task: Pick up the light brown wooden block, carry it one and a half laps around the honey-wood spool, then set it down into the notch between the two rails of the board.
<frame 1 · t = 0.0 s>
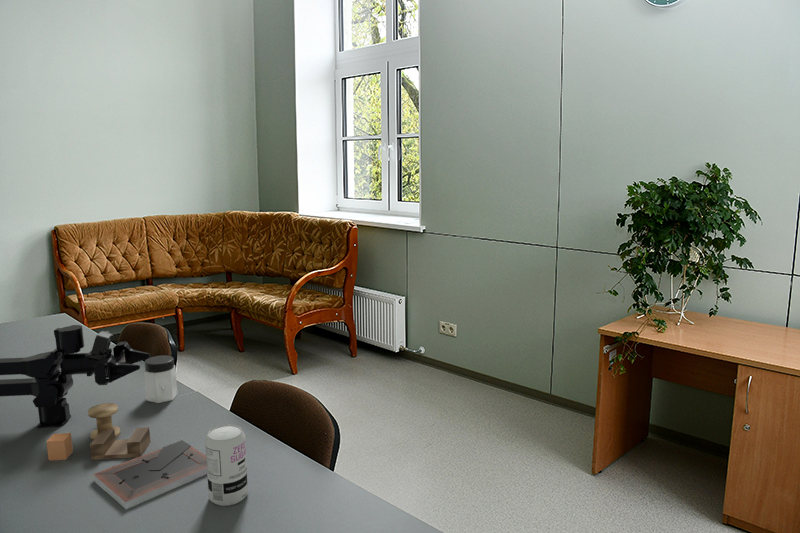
hand: (144, 361, 167), 17 cm above the table, tool horizontal, fingers open, 9 cm apart
jar: (162, 398, 184), on the table
notch board: (121, 450, 151), on the table
supplement can: (229, 497, 131), on the table
light brown wooden block: (61, 456, 149), on the table
spool: (105, 435, 159), on the table
picture frame: (157, 478, 140), on the table
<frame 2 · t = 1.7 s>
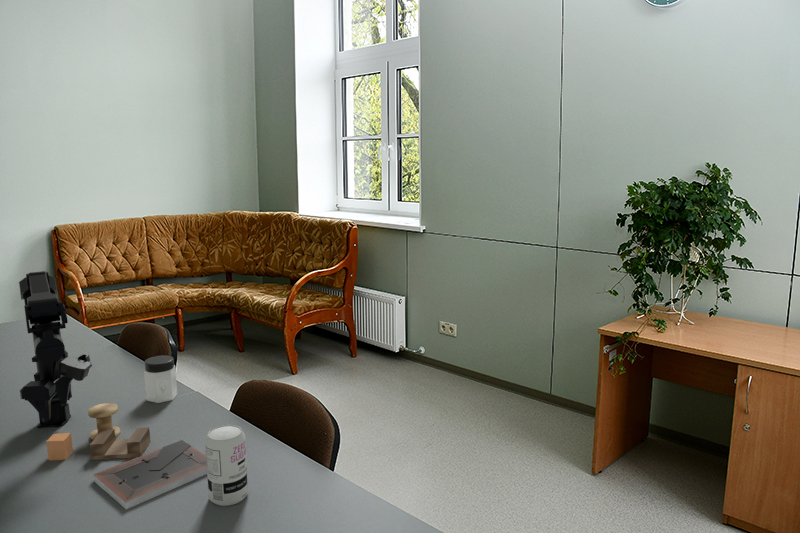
hand: (56, 411, 147), 11 cm above the table, tool pointing down, fingers open, 9 cm apart
nothing on the table moved.
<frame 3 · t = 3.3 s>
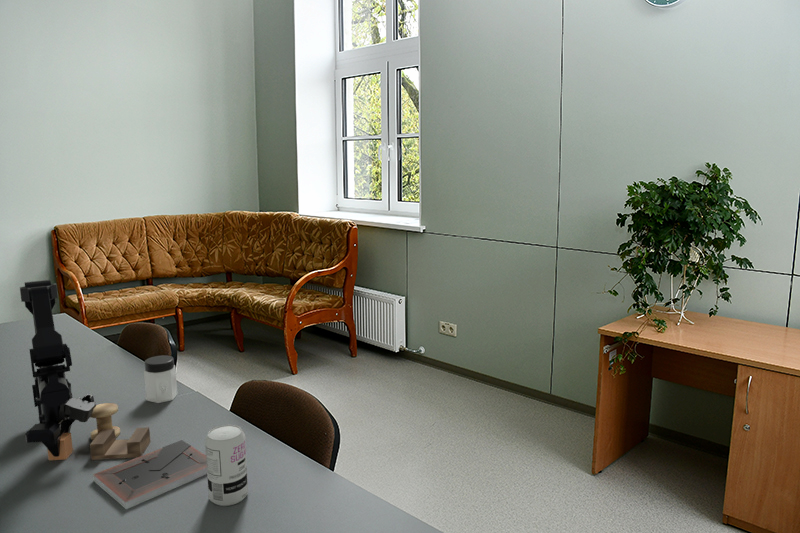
hand: (60, 451, 149), 1 cm above the table, tool pointing down, fingers closed on light brown wooden block, 4 cm apart
light brown wooden block: (61, 455, 149), on the table, touching gripper
everything else where it was.
when the fingers open (4 cm above the table, at t = 10.4 s): light brown wooden block drops 2 cm, resting on notch board.
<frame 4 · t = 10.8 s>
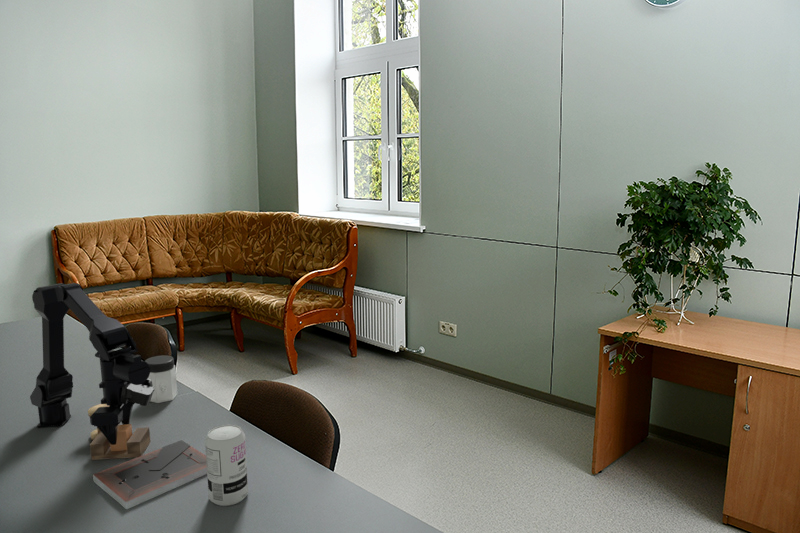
hand: (120, 435, 150), 4 cm above the table, tool pointing down, fingers open, 9 cm apart
light brown wooden block: (122, 446, 151), point 1 cm above the table, touching notch board
everything else where it was.
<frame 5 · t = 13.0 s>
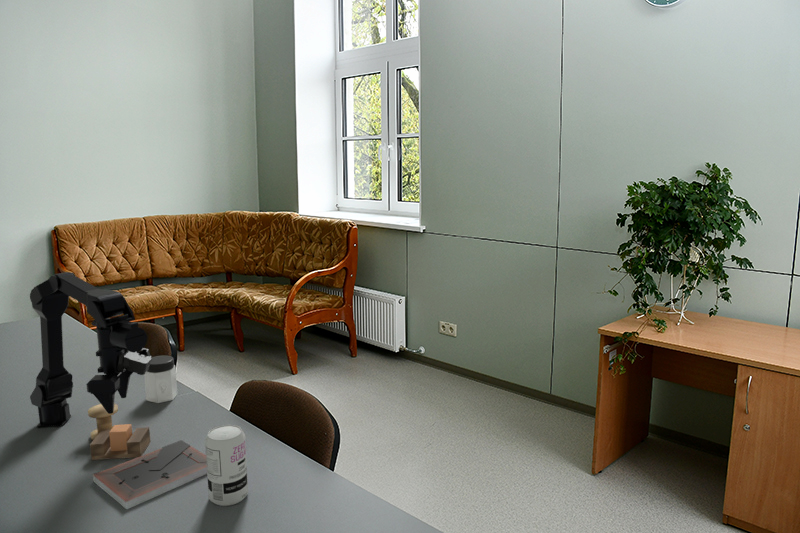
hand: (117, 405, 149), 12 cm above the table, tool pointing down, fingers open, 9 cm apart
nothing on the table moved.
at the end: light brown wooden block 0.2 cm off-centre on the notch board, point 1.0 cm above the notch board's base; light brown wooden block tilted 0°; the gripper is holding nothing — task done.
